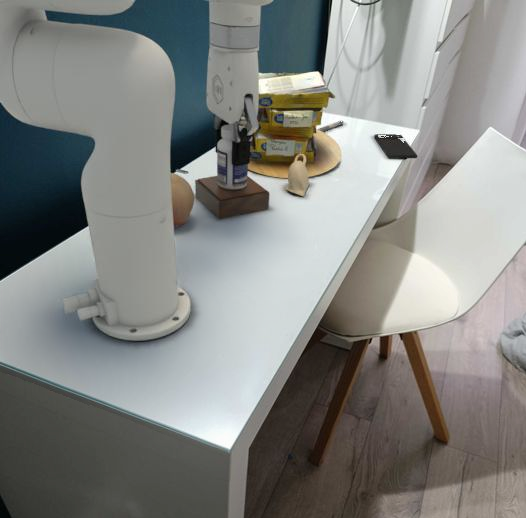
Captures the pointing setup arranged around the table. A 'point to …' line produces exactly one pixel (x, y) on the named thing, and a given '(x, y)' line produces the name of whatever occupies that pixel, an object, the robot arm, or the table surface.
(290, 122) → the boxes on round tray
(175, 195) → the fruit
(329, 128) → the pen
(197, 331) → the table surface
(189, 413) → the table surface
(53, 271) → the table surface
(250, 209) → the block
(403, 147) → the smartphone
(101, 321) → the robot arm
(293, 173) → the decorative ornament
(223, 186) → the pill bottle
